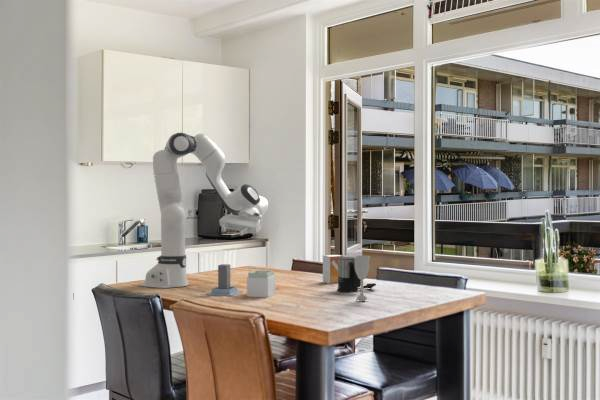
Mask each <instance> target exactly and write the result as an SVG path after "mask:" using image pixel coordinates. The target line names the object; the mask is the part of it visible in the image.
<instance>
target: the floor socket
mask: <svg viewBox="0 0 600 400" xmlns="http://www.w3.org/2000/svg"><path fill="white" fill-rule="evenodd" d="M241 293H243V290H238V286H233V285H232V286H231V285H230V289H218V286H216V287H212V288H211V291H210V292H208V293H206V294H205V295H206V296H218V295H219V296H221V297H233V296H236V295H238V294H241Z"/></svg>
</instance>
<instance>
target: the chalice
mask: <svg viewBox="0 0 600 400" xmlns="http://www.w3.org/2000/svg"><path fill="white" fill-rule="evenodd" d="M353 257H354V259H355V271H356V274H357V276H358V278H359V279H361V284H360V285H361V286H360V287H361V288H360V287H359V288H360V289H359V290H360V294H358V295H357V297H356V300H359V301H365V300H368V297H367V295H366V294H365V293H364V290H365V288H363V286H365V283H364V280H365V279H366V278H367V277H368V274H369V270H370V258H371V256H370V255H354V256H353Z"/></svg>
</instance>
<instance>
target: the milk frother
mask: <svg viewBox="0 0 600 400" xmlns="http://www.w3.org/2000/svg"><path fill="white" fill-rule="evenodd" d="M360 284H361V279H359V278H358V276H357V274H356V271H355V259H354V256H343V257H338V283H337V291H338V292H342V291H343V293H344V292H346V293H351V291H354V292H357V290H360V288H361V285H360ZM376 286H377V284H376V283H374V282H373V283H366V284H364V285H363V288H364V289H368V288H371V289H372V288H374V287H376Z"/></svg>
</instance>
